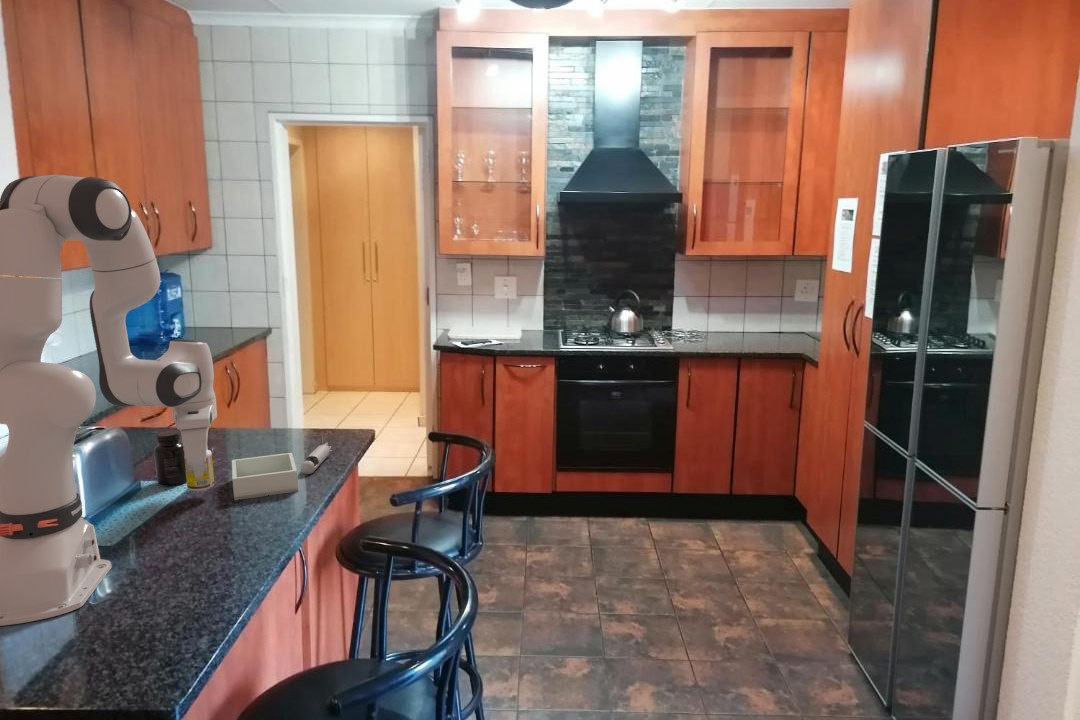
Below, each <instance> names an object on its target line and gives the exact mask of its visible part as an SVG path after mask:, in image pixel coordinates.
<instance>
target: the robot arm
mask: <svg viewBox="0 0 1080 720" xmlns="http://www.w3.org/2000/svg"><path fill="white" fill-rule="evenodd" d="M119 186H120V185H118V184H116V183H115V182H113V181H110V180H107V179H104V178H101V177H96V176H88V177H83V176H74V175H66V174H50V175H49V174H48V175H40V176H36V175H30V176H29V175H28V176H23V177H20V178H17V179H15V180H12V181H11V182H9V183H8V184H7V185H6V186H5V188H4V189H3V191H2V193H1V195H0V425H5V426H6V427H7V430H8V440H7V446H6V450H5V452H4V453H3V454H1V456H0V627H1V626H10V625H18V624H24V623H30V622H34V621H40V620H41V621H42V620H44V619H49V618H53V617H56V616H57V617H58V616H61V615H63V614H66V613H69V612H73V611H74V610H77V609H80V608H81V607H83V606H84V604H85V603H86V602H87V601H88V599H89V598H90V596H91V595H92V594H93V592H94V591H95V590H96V589H97V588H98V586H99V585H100V583H101V582H102V581H103V580H104V578H105V577H106V576H107V574H108V573H109V572H110V570H111V569H112V566H113V565H112V562H111V561H110V560H107V559H102V558H101V555H100V550H99V545H98V539H97V535H96V529H95V526H94V524H92V523H90V522H89V521H87V520H86V519H85V518H84V517H83V516H82V515H83V505H82V500H81V495H80V494H79V492H77V488H76V479H75V469H74V460H73V459H74V458H73V457H74V455H73V454H74V445H75V440H76V435H77V433H78V430H79V428H80V426H81V425H82V424H83V423H84V422H86V420H88V418H89V417H90V416H91V415H92V413H93V411H94V409H95V407H96V402H97V391H96V386H95V384H94V382H93V380H92V379H91V378H90V377H89V376H88V375H87V374H85V373H84V372H82V371H79V370H77V369H75V368H73V367H69V366H67V365H64V364H61V363H54V362H43V361H41V359H42V354H43V351H44V347H45V346H46V344H47V341H48V339H49V337H50V336H51V335H52V334H54V333H55V332H56V331H57V330H58V329H60V327H61V325H62V323H63V322H62V321H63V287H62V286H63V285H62V284H63V281H62V279H63V278H62V277H63V276H62V273H63V272H62V258H61V249H62V247H63V246H64V243H65V241H80V242H81V243H82V244H83V245H84V247H85V249H86V255H87V259H88V261H89V264H90V265H89V266H90V268H91V271H92V274H93V280H94V281H93V282H94V290H93V291H92V292H91V293H90V296H89V315H90V321H91V327H92V330H93V337H94V344H95V348H96V354H97V360H98V366H99V368H98V369H99V370H98V371H99V373H98V382H99V383H98V385H99V388H100V392H101V394H102V395H103V397H104V399H105V400H107V402H108V403H110V404H111V405H114V406H117V407H132V406H133V407H134V406H139V407H140V406H141V407H151V408H152V407H153V408H154V407H156V408H157V407H158V408H171V414H172V415H171V416H172V422H173V423H175V424H176V429H177V431H179V433H180V439H181V442H182V444H183V449H184V454H185V458H186V461H187V464H188V465H193V469H194V476H195V477H196V478H199V477H203V463H205V461H206V453H207V447H208V438H209V437H208V436H209V435H208V433H209V430H210V427H211V425H212V424H213V423H212V422H213V421H214V420H215V419H217V418H218V413H217V399H216V397H217V396H216V392H215V390H214V385H213V384H214V379H215V374H214V373H215V371H214V364H213V363H214V362H213V357H212V353H211V349H210V346H209V344H208V342H205V341H203V340H199V339H184V338H177V339H176V338H175V339H172V340H170V341H169V346H168V349H167V351H165V353H163V354H162V355H161V356H160V357H158V358H156V359H154V360H153V359H139V357H136V356H135V355H133V353H132V352H131V347H130V341H129V335H128V331H127V330H128V329H127V325H126V318H127V315H128V313H129V312H130V311H132V310H135V309H137V308H139V307H141V306H143V305H144V304H147V303H148V302H149V301H151V300H152V299H153V297H155V296H156V294H157V293H158V291H159V289H160V286H161V272H160V268H159V265H158V261H157V258H156V255H155V252H154V249H153V246H152V243H151V240H150V238H149V235H148V233H147V230H146V228H145V227H144V224H143V223H142V221H141V219H140V217H139V216H138V215H139V214H138V213H136V211H135V210H134V209H133V208H132V206H131V203H130V199H129V198H128V196H127V195H126V193H125V192H124V191H123V189H122V188H121V187H119Z"/></svg>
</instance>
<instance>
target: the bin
mask: <svg viewBox="0 0 1080 720" xmlns="http://www.w3.org/2000/svg"><path fill="white" fill-rule="evenodd" d="M231 467H232V468H231V472H232V473H231V475H232V476H231V477H232V478H231V480H232V490H233V491H232V492H233V500H234V501H240V500H246V499H253V498H261V497H262V498H263V497H267V496H268V495H269V496H275V495H276V496H277V495H282V494H290V493H297V492H299V482H298V481H299V480H298V471H297V467H296V462H295V459H294V455H293V452H287V453H278V454H269V455H262V456H261V455H260V456H253V457H246V458H245V457H244V458H238V459H237V458H236V459H232V460H231ZM269 496H268V497H269ZM239 499H240V500H239Z"/></svg>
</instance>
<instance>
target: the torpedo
mask: <svg viewBox="0 0 1080 720" xmlns="http://www.w3.org/2000/svg"><path fill="white" fill-rule="evenodd" d="M321 440H322V444H320V445H318V446H317V447H316V448H315V449H314V450H312V452H311V453H310V454H309V455H308V456H307V457H306V458H305V460H303V461H302V462H301V463H300V471H301V473H302V474H304V475H310V474H311V475H312V474H313V473H314V472H315V471H316V470H317V469H318V468H319V466H320V465H321V464H322V463H323V462H324V461H325V460H326V459H327V458H328V457H329V455H330V453H331V452H333V450H332V449H331V448H332V446H329V443H328V441H327V442H326V443H324V438H323V433H322V432H321ZM314 465H316V466H314Z"/></svg>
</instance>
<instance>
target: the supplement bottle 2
mask: <svg viewBox="0 0 1080 720" xmlns="http://www.w3.org/2000/svg"><path fill="white" fill-rule="evenodd" d="M208 448H209V447H208V446H207V453H206V461H205V463H203V477H199V478H196V477H195V476H194V469H193V465H188V464H187V461H186V458H185V456H184V458H185V468H186V479H187V481H186V487H187V490H189V491H192V492H203V491H208V490H209V489H211V488H213V487H214V486H215V477H214V464H213V454H212V453H213V452H212V451H211V450H210V449H208Z"/></svg>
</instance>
